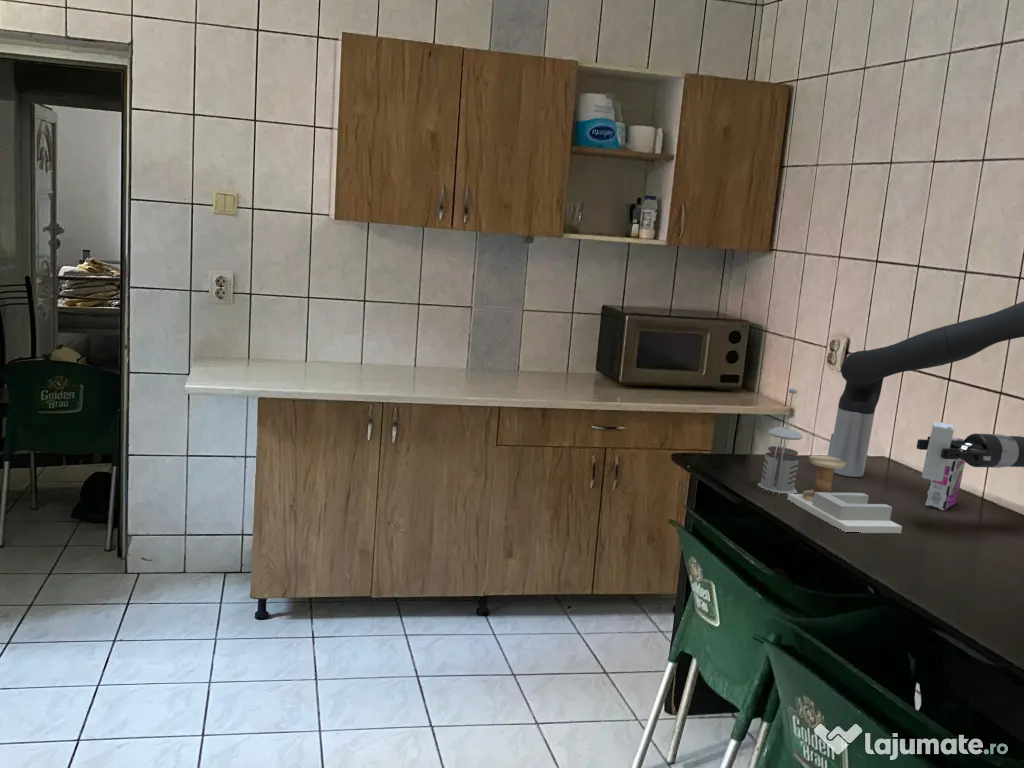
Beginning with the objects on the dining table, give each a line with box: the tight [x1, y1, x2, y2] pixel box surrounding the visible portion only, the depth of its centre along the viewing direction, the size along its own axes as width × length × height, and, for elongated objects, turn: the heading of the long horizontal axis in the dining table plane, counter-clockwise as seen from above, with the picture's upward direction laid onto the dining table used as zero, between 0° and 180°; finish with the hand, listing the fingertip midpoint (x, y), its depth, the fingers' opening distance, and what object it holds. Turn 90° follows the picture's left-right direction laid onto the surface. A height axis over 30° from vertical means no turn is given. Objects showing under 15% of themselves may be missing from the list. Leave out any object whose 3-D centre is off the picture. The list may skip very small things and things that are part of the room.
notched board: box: [787, 491, 903, 534], centre depth 206 cm, size 22×14×4 cm, turn 16°
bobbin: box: [802, 454, 846, 502], centre depth 212 cm, size 8×8×10 cm
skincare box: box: [921, 421, 955, 481], centre depth 203 cm, size 6×4×12 cm
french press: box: [757, 387, 804, 494], centre depth 221 cm, size 10×12×25 cm
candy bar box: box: [924, 436, 966, 512], centre depth 224 cm, size 11×5×16 cm, turn 141°
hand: (930, 448), depth 202 cm, fingers closed on skincare box, 7 cm apart
